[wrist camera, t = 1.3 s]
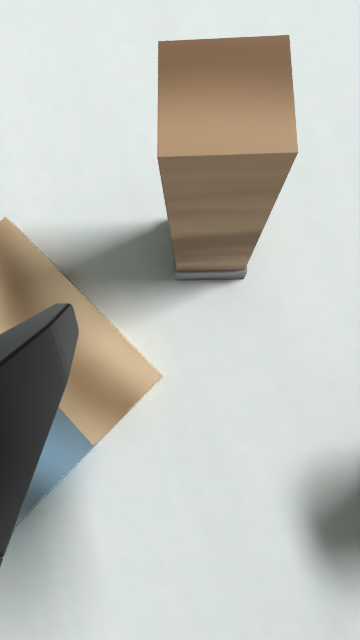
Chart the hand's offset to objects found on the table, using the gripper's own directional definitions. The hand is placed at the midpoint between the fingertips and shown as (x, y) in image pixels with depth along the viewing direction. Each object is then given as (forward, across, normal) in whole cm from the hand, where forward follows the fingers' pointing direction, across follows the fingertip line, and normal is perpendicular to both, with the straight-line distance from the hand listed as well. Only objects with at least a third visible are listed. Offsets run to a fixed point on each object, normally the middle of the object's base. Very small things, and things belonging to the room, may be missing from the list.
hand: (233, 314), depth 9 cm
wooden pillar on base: (+15, 0, +4) cm, 16 cm away
